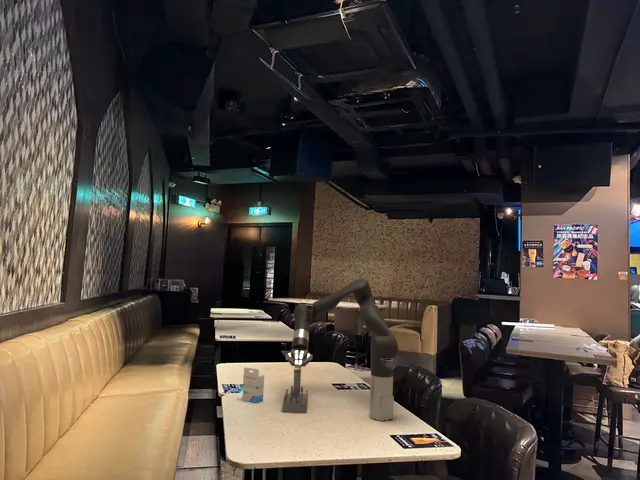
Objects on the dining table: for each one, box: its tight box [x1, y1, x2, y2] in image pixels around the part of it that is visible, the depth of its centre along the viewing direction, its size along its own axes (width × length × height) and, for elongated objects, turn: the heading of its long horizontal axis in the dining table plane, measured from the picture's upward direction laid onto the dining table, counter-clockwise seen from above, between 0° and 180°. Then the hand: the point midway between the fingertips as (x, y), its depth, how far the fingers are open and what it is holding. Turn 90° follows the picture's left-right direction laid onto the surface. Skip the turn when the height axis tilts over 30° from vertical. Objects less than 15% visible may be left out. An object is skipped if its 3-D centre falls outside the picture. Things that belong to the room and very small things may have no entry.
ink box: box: [241, 366, 265, 404], centre depth 209 cm, size 9×5×15 cm, turn 62°
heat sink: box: [282, 385, 309, 414], centre depth 201 cm, size 15×10×9 cm, turn 0°
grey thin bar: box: [293, 367, 302, 391], centre depth 205 cm, size 1×3×11 cm, turn 90°
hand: (297, 373), depth 205 cm, fingers closed
